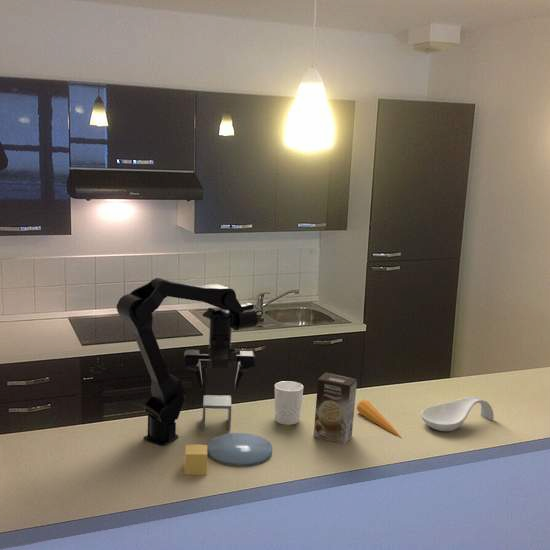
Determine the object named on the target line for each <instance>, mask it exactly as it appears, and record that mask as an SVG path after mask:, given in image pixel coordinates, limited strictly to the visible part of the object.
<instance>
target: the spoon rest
mask: <svg viewBox="0 0 550 550" xmlns="http://www.w3.org/2000/svg"><path fill="white" fill-rule="evenodd" d="M477 404H480V416H481V417H483V418H485V419H487V420H489V421H493V420H494V418H495V417H494V410H493V407H492V406H491V405H490V403H489V402H488V401H487V400H484V399H481V398H480V397H478V396H475V395H474V396H473V395H471V396H470V395H469V396H465V397H461V398H459V399H455V400H451V401H449V402H444V403H440V404H436V405H434V406H433V405H432V406H428V407H426V408H424V409H423V410H422V411H421V412H420V417H421V419H422V420H423V422H424V423H425V425H427V426H429V427H430V428H431V429H434V430H436V431H439V432H453V431H454V430H456V429H458V428H459V427H460V426H461V425H462V424H463V423H464V422H465V420H466V419H467V417H468V416H469V414H470V411H471V410H472V408H473V407H474V406H475V405H477Z"/></svg>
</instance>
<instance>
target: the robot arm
mask: <svg viewBox="0 0 550 550" xmlns="http://www.w3.org/2000/svg"><path fill="white" fill-rule="evenodd" d="M167 297H170V298H174V299H175V298H176V299H183V300H189V301H196V302H201V303H202V302H203V303H206V304H208V305H211V306H214V307H216V308H219V309H214V308H211V307H208V308H207V310H205V312H203V314H202V317H204V318H206V319H207V320H208V319H209V339H208V340H209V341H208V342H209V343H208V354H207V353H206V354H205V353H200V349H185V351H184V352H183V366H184V367H188V369H189V370H190V369H191V370H193V372H194V374H195V376H196V379H197V382H198V386H199V388H200V390H202V389H203V377H202V367H201V366H202V365H201V362H206V363H207V362H209V364H210V365H209V367H210V368H211V369H225V370H226V369H228V368H229V367H230V364H234V363H236V364H237V369H236V376H235V381H234V390H236V391H237V389H238V387H239V385H240V382H241V380H242V377H243V375H244V373H245V372H246V371H249V370H250V369H251V368H254V367H256V355H255V352H254V351H253V350H239V354H238V349H237V348H231V347H232V330H234V331H241V330H248V329H254V328H256V327H257V325H258V323H259V322H258V321H259V317H258V315H257V312H256V309H254V304H252V303H250V302H247V303H243V304H241V303H240V301H239V300H238V299H237V298H238V297H237V294H236V292H235V289H233V288H230V287H227V286H224V285H221V284H219V283H214V284H212V283H211V284H208V283H207V284H205V285H196V284H191V283H187V282H186V283H185V282H180V281H179V282H178V281H175V280H174V281H173V280H168V279H163V278H161V277H156V278H153V279H152V280H151V281H149V282H148V283H147V284H144V285H141V286H140V287H137V288H135V289H134V290H132V291H131V292H129V293H128V294H127V293H126V294H124V295H122V296H121V297H120V298H119V299H118V302H117V304H116V311H117V313H118V315H119V316H120V317H121V320H122V321H123V323H124V324H125V325H126V326H127V327H128V328H129V330H130V331H131V332H132V333H133V336H134V338H135V341H136V344H137V346H138V348H139V352H140V353H141V356H142V359H143V362H144V364H145V366H146V369H147V371H148V374H149V376H150V379H151V383H150V384H151V385H150V392H151V395H150V396H149V398H147V400H146V401H145V402H144V404H143V410H144V412H145V413H148V414H147V434H146V435H145V436H143V440H145V441H148V442H151V443H154V444H157V445H160V446H165V445H166V444H169V443H170V442H172V441H174V440H176V439H178V438H179V435H178V433H176V432H177V431H176V430H177V423H176V421H175V420H178V419H179V416H180V413H181V410H182V409H183V408H182V407H183V406H184V404H185V402H186V396H185V395H186V394H187V392H186V391H185V390H184V387H183V383H182V380H181V379H179V378H177V377H176V376H174V375H172V374H170V372H169V370H168V367H167V364H166V361H165V359H164V356H163V354H162V351H161V348H160V346H159V343H158V340H157V337H156V336H155V333H154V330H153V322H154V317H153V313H154V312H155V311H156V310H158V308H159V307H160V306H161V304H162V303H163V301H164V300H165V299H166V298H167Z"/></svg>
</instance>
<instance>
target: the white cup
mask: <svg viewBox="0 0 550 550" xmlns="http://www.w3.org/2000/svg"><path fill="white" fill-rule="evenodd" d="M303 394H304V385H303V384H302V383H301V382H297V381H290V380H286V381H284V380H282V381H279V382H276V383H275V384H274V420H275V421H276V422H277V423H278V424H282V425H285V426H286V425H287V426H288V425H290V426H292V425H296V424H299V423H300V421H301V419H300V418H301V411H302V403H303V396H304V395H303Z"/></svg>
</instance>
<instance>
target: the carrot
mask: <svg viewBox="0 0 550 550" xmlns="http://www.w3.org/2000/svg"><path fill="white" fill-rule="evenodd" d="M356 410H357V412H358V413H359V414H360V415H362V416H363V418H364V417H365V418H366V419H368V420H369V421H370V422H373V423H375V424H377V425H378V426H380V427H381V428H383V429H384V430H386V431H387V430H388V432H389V433H391V434H393V435H395V436H397V437H398V438H400V439H403V437H402V436H401V435H400V434H399V432H398V431H397V430H396V429H395V428H394V426H393V425H391V424H390V422H389V421H388V420H387V419H386V418H385V417H384V416H383V415H382V414H381V413H380V412H379V411H378V409H376V408H375V406H373V404H372V403H371V402H370V401H369V400H366V399H363V400H360V401H359V402H358V403H357V405H356Z"/></svg>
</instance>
